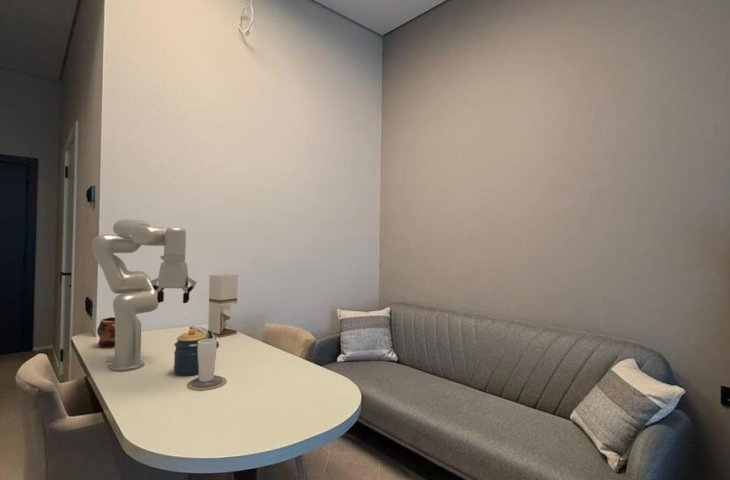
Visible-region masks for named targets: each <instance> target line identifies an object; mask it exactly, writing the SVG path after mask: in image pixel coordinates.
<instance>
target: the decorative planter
mask: <svg viewBox="0 0 730 480" xmlns="http://www.w3.org/2000/svg"><path fill="white" fill-rule="evenodd" d="M96 332H97V335H98V337H99V340H98V347H100V348H101V347H102V348H101V349H106V348H107V347H108V348H115V316H114V317H106V318H102V319H101V320H100V323H99V325H98V327H97V330H96ZM108 348H107V349H108Z"/></svg>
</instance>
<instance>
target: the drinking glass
mask: <svg viewBox="0 0 730 480" xmlns="http://www.w3.org/2000/svg"><path fill="white" fill-rule="evenodd" d="M216 341H217V339H216V340H215V339H203V340H199V341H198V346H197V355H198V369H199V374H198V377H199V381H200V382H209V381H212V380H213V379H214V375H215V368H216V366H215V365H216V359H217V347H218V346H217V343H216Z"/></svg>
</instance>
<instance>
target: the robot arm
mask: <svg viewBox="0 0 730 480" xmlns="http://www.w3.org/2000/svg"><path fill="white" fill-rule="evenodd" d="M112 231H113V233H108V234H107V233H105V234H100V235H97V236H95V238H94V239H93V240H92V244H91V250H92V255H93V258H94V259H95V261H96V262H97V264H98V265H99V266H100V268H101V270H102V272H103V274H104V277H105V280H106V282H107V285H108V287H109V289H110V291H111V292H112V293H113V294H117V295H116V296H115V298H114V299H113V300H112V301H113V302H112V307H113V308H112V309H113V313H114V317H115V346H114V356H106V359H105V363H111V364H110V366H109V370H110V371H114V372H124V371H125V372H126V371H132V370H136V369H139V368H142V367H143V366H144V365H145V361H144V360H143V359H142V358H141V353H142V352H141V351H142V348H141V347H142V323H141V321H140V319H139V318H138V317H137V316H138V314H144V313H150V312H154V311H155V310H157V309H158V306H159V305H160V304H159V303H163V302H165V299H164V297H165V296H164V295H165V292H164V290H165V289H181V290H182V291H183V294H182V295H183V296H182V303H183V304H187V303H188V302H190V301H189V300H190V293H191V291H192V290H193V289H194V288H195V287H196V285H197V281H196V280H194V279H192V278H190V277H189V269H188V264H187V262H186V243H187V238H186V237H187V231H186V229H184V228H180V227H164V226H163V227H162V226H151V224H150V223H149V222H148V221H146V220H142V219H131V218H129V219H127V218H122V219H120V220H117V221H116V222H114V224H113V226H112ZM142 246H146V247H149V246H150V247H153V246H155V247H157V246H159V247H163V249H164V250H163V255H161V256H160V259H161V260H163V262H161V263H160V266H159V267H160V268H159V271H158V277H156V278H154V279H152V280H151V278H150V276H149V275H148V273H147V272H144V271H140V270H136V271H131V270H129V269H128V268H127V267H126V264H125V262H124V261H123V259H121V258H120V257H119V256H117V255H116V254H132V253H135V252H136V251H138V250H139V249H140V248H141V247H142ZM189 283H190V286H189Z"/></svg>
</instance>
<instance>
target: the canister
mask: <svg viewBox="0 0 730 480" xmlns="http://www.w3.org/2000/svg"><path fill="white" fill-rule="evenodd" d="M205 338H206V335H204V334H203V333H201V332H195V330H194V329H190V328H189V330H188V332H184V333H182V334H180V335H179V336H177V338H176V340H177V341H176V342H175V343H174V347H175V351H174V352H173V355H174V361H173V373H174V374H175V375H177V376H183V377H185V376H187V377H188V376H194V375H195V376H196V375H199V369H198V355H197V346H198V341H199V340H203V339H205Z"/></svg>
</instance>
